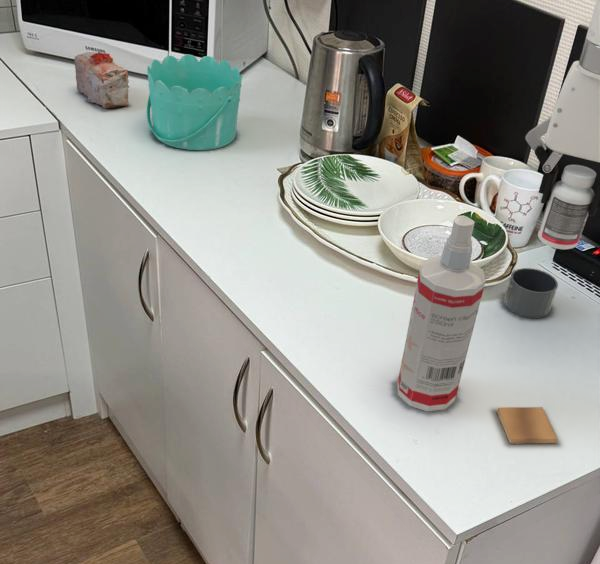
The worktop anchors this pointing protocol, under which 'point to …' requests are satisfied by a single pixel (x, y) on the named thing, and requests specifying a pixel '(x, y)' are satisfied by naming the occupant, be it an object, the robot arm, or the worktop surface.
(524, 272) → the tin
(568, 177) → the pill bottle
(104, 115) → the worktop surface
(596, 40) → the robot arm
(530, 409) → the brown wooden square tile
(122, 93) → the food item
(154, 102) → the basket
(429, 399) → the spray bottle
